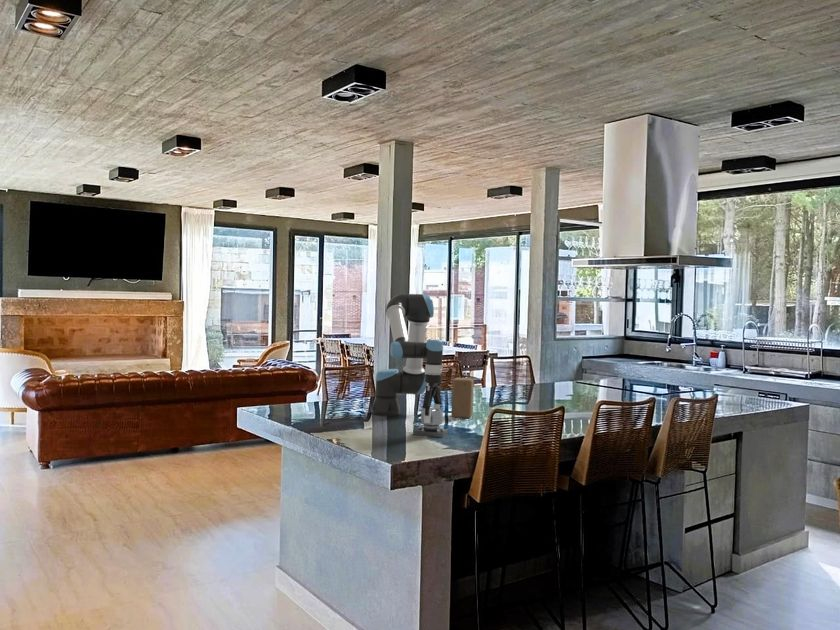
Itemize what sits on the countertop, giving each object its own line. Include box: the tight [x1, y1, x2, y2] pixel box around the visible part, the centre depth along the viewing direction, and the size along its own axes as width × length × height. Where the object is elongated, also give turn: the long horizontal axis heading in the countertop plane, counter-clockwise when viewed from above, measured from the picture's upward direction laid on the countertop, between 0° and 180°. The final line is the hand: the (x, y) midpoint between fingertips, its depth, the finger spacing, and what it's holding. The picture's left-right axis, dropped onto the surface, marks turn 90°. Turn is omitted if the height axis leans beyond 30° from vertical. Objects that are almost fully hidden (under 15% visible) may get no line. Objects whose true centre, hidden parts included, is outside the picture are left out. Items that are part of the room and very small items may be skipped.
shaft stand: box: [412, 409, 450, 439], centre depth 321 cm, size 14×10×11 cm
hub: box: [420, 407, 444, 426], centre depth 321 cm, size 9×9×6 cm
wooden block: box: [451, 377, 475, 419], centre depth 373 cm, size 10×10×20 cm
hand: (431, 420), depth 321 cm, fingers open, 13 cm apart
